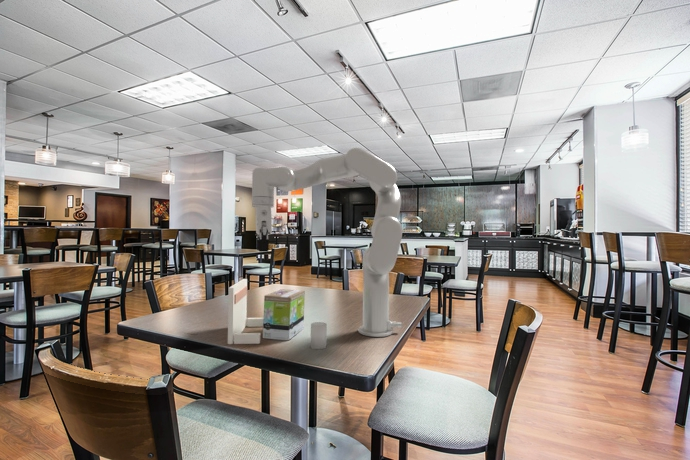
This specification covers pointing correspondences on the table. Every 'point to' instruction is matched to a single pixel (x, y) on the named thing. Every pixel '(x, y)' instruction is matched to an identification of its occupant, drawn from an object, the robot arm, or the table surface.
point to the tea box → (283, 314)
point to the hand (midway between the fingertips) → (262, 250)
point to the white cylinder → (318, 335)
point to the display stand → (241, 316)
